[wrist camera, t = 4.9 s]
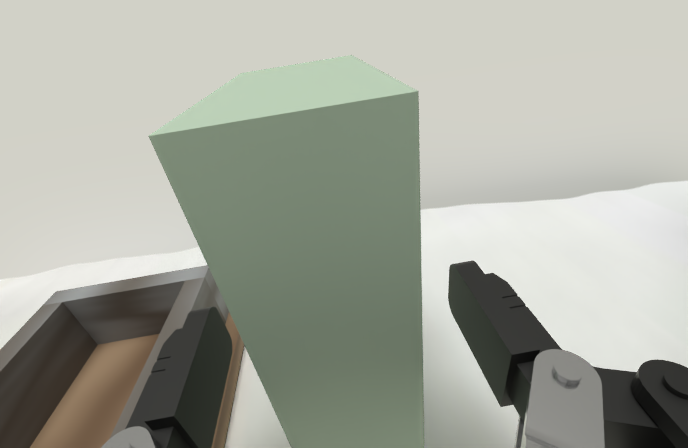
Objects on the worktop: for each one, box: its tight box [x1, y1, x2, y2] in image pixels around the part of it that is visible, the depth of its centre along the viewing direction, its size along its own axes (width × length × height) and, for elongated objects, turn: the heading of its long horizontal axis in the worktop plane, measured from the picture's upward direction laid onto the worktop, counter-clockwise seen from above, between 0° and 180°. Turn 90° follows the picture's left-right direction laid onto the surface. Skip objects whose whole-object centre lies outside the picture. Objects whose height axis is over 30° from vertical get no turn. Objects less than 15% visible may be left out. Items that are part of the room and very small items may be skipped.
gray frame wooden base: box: [0, 265, 244, 448], centre depth 16 cm, size 12×18×5 cm, turn 6°
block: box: [149, 55, 424, 448], centre depth 13 cm, size 4×9×16 cm, turn 6°
